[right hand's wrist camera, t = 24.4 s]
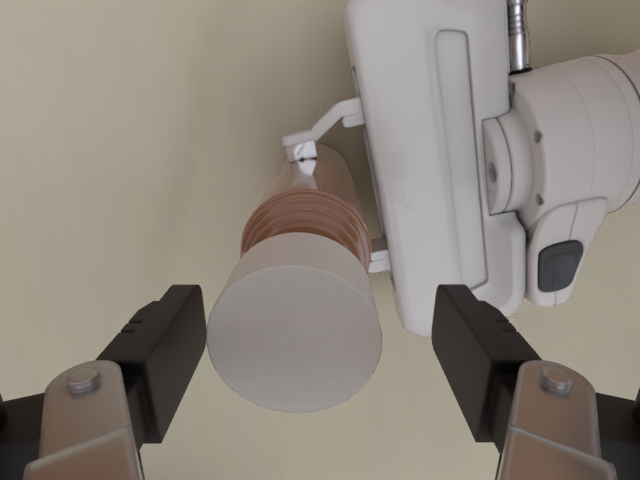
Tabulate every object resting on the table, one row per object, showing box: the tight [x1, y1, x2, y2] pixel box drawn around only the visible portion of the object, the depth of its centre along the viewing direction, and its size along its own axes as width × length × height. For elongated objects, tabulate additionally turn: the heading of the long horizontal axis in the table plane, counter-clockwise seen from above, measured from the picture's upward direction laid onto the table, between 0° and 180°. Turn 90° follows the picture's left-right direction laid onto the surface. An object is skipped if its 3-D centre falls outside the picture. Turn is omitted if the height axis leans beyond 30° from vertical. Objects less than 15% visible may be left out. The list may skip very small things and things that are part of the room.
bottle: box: [241, 144, 372, 273], centre depth 19 cm, size 5×5×20 cm
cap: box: [206, 232, 382, 413], centre depth 11 cm, size 4×4×2 cm
